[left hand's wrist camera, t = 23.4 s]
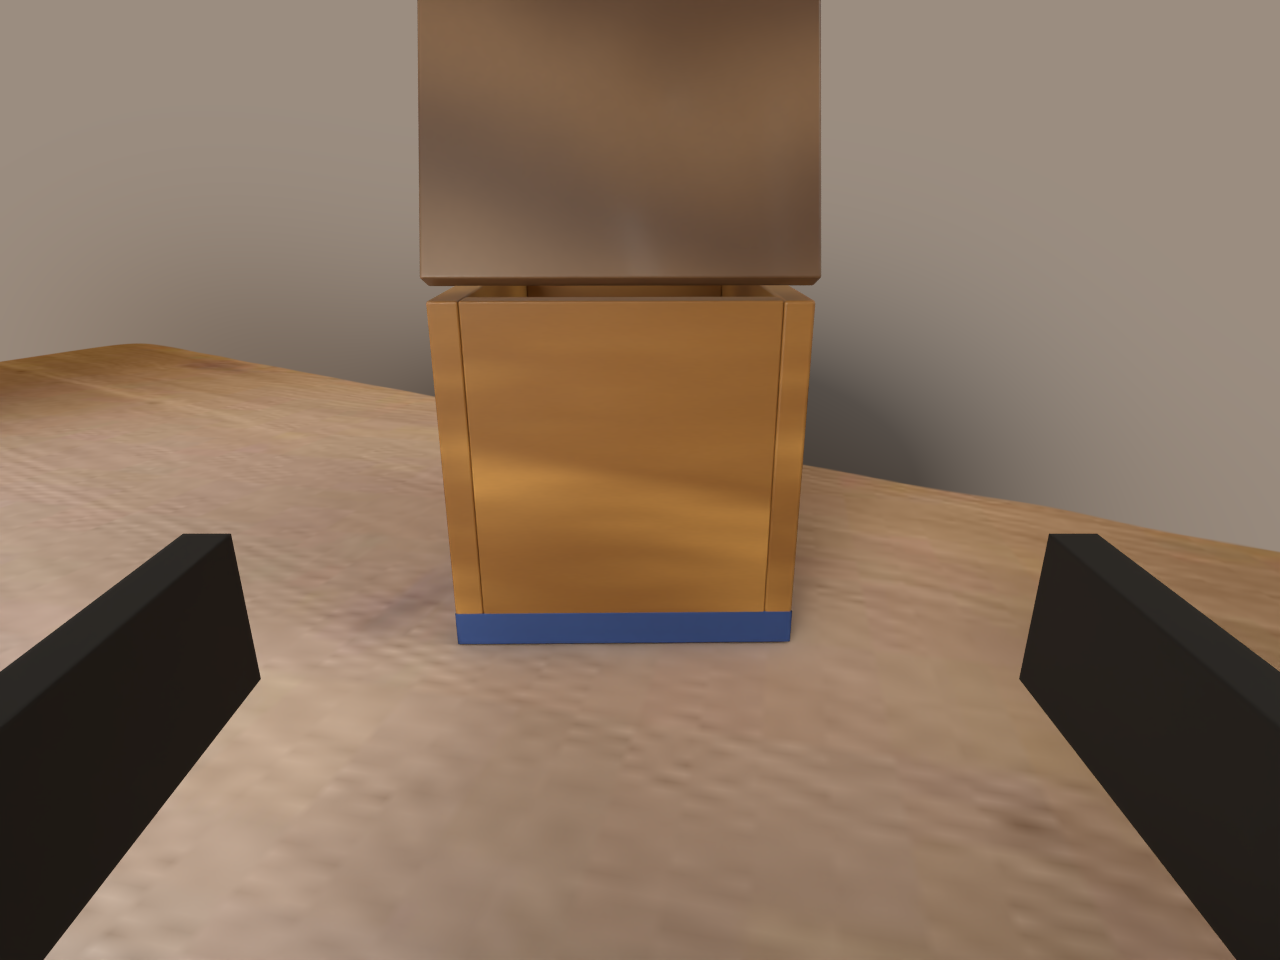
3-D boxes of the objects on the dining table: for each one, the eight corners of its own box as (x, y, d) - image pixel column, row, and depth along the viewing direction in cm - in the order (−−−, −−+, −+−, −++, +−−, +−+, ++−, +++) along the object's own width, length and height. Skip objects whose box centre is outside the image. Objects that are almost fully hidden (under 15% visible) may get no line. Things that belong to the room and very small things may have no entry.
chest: (520, 476, 38) (507, 255, 34) (730, 475, 38) (740, 255, 34) (457, 644, 24) (424, 301, 20) (789, 641, 24) (816, 300, 20)
